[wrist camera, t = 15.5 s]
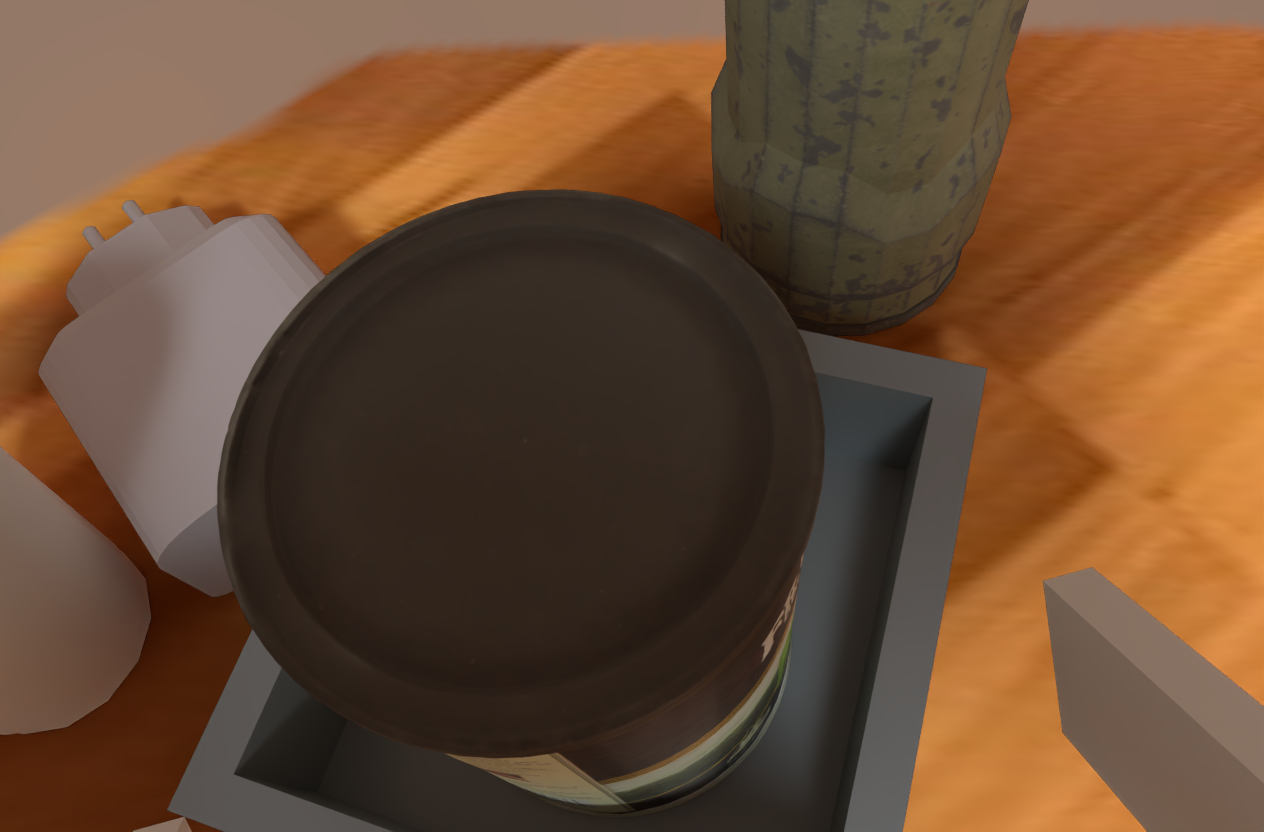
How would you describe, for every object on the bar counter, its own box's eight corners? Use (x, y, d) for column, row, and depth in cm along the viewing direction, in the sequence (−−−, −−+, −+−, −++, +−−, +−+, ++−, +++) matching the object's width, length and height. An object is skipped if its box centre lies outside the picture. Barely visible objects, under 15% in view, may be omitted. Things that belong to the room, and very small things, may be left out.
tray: (277, 824, 28) (166, 810, 23) (479, 351, 35) (429, 253, 29) (835, 1031, 25) (858, 1070, 19) (946, 458, 31) (987, 368, 26)
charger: (241, 189, 40) (449, 430, 34) (42, 323, 38) (224, 605, 32) (181, 106, 35) (405, 364, 29) (-47, 252, 34) (143, 561, 28)
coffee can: (769, 455, 31) (782, 153, 18) (815, 804, 26) (877, 725, 13) (450, 486, 31) (249, 217, 19) (441, 831, 27) (167, 781, 14)
